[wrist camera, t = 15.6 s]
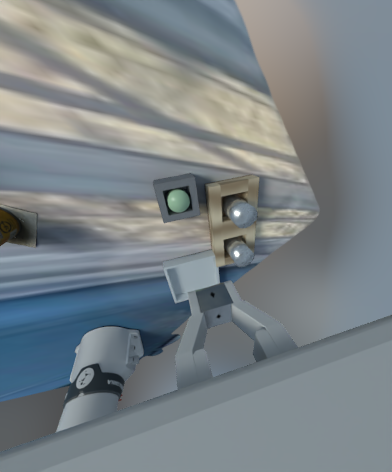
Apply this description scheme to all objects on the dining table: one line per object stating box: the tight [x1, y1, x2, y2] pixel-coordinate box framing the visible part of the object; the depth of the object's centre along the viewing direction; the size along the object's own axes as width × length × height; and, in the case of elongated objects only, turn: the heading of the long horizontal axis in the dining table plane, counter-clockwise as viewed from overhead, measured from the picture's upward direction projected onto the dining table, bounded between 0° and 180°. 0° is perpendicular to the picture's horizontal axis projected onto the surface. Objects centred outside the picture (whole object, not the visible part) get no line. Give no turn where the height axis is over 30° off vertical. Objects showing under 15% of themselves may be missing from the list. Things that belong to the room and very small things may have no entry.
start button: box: [167, 188, 190, 212], centre depth 28 cm, size 4×4×3 cm
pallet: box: [205, 175, 259, 267], centre depth 36 cm, size 20×10×3 cm, turn 8°
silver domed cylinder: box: [224, 236, 254, 267], centre depth 36 cm, size 4×4×7 cm
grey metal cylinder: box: [221, 194, 257, 228], centre depth 31 cm, size 4×4×7 cm
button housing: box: [153, 173, 200, 223], centre depth 29 cm, size 7×7×4 cm
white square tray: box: [163, 249, 220, 303], centre depth 41 cm, size 13×13×2 cm
